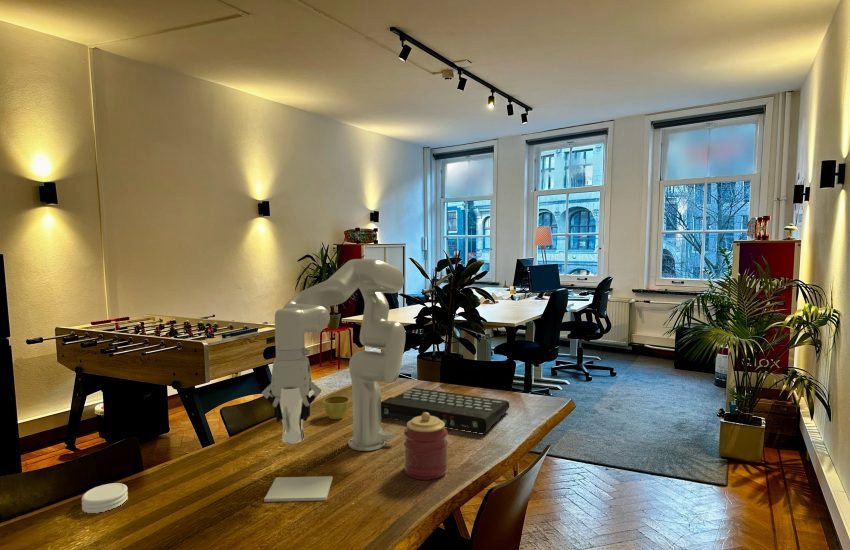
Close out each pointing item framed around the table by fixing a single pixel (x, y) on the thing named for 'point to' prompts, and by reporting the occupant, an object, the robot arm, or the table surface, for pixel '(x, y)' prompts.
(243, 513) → the table surface
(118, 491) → the white round disc stack
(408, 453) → the canister
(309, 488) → the grey mat
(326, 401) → the flower pot
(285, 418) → the beer glass
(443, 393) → the computer keyboard
